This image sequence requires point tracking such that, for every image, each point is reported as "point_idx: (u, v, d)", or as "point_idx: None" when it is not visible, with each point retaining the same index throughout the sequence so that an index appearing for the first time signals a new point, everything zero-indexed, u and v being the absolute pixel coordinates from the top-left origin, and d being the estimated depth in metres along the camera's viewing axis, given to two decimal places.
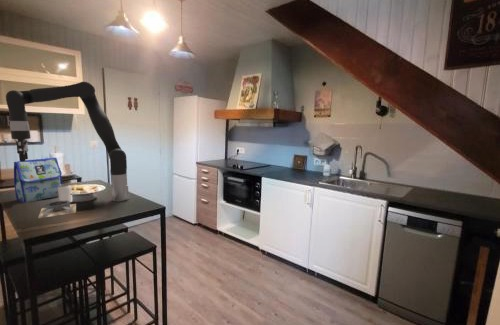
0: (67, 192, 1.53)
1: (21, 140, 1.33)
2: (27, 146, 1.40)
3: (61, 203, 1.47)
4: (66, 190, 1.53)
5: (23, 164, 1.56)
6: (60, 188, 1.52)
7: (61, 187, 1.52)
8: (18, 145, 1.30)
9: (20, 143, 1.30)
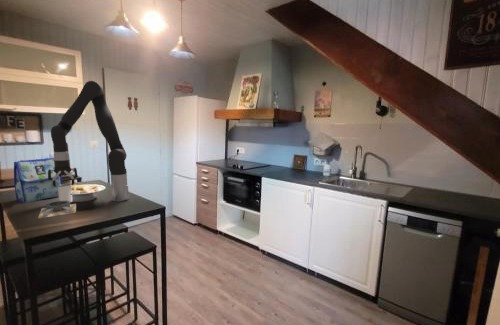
0: (67, 192, 1.53)
1: None
2: None
3: (61, 203, 1.47)
4: (66, 190, 1.53)
5: (23, 164, 1.56)
6: (60, 188, 1.52)
7: (61, 187, 1.52)
8: (76, 171, 1.57)
9: (76, 169, 1.57)
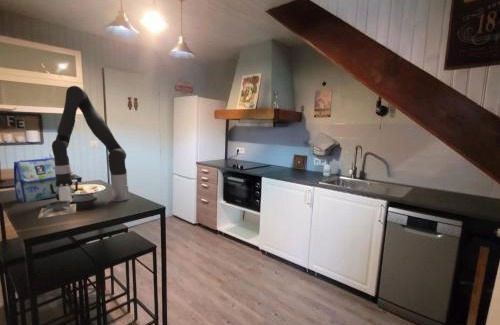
0: (67, 192, 1.53)
1: (71, 180, 1.56)
2: None
3: (61, 203, 1.47)
4: (66, 190, 1.53)
5: (23, 164, 1.56)
6: (60, 188, 1.52)
7: (61, 187, 1.52)
8: (77, 184, 1.58)
9: (77, 182, 1.58)
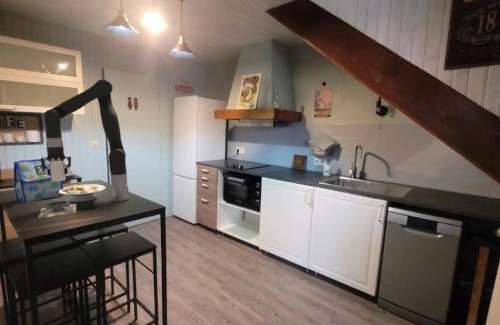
0: (59, 167, 1.43)
1: (64, 155, 1.46)
2: None
3: (61, 203, 1.47)
4: (58, 165, 1.42)
5: (23, 164, 1.56)
6: (52, 163, 1.41)
7: (53, 161, 1.41)
8: (70, 160, 1.47)
9: (70, 158, 1.48)
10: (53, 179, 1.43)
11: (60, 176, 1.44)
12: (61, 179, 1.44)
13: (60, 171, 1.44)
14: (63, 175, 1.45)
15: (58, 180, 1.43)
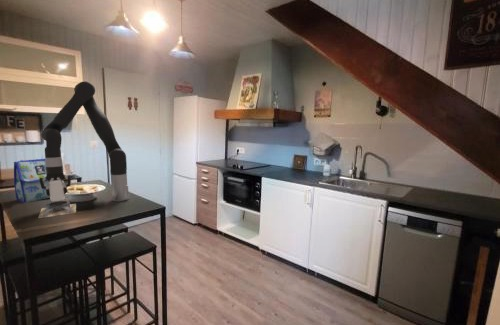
0: (59, 187, 1.40)
1: (63, 174, 1.43)
2: None
3: (61, 203, 1.47)
4: (57, 184, 1.40)
5: (23, 164, 1.56)
6: (51, 182, 1.39)
7: (52, 181, 1.39)
8: None
9: (70, 176, 1.45)
10: (52, 199, 1.40)
11: (59, 196, 1.41)
12: (60, 199, 1.42)
13: (59, 191, 1.41)
14: (62, 194, 1.43)
15: (57, 200, 1.41)
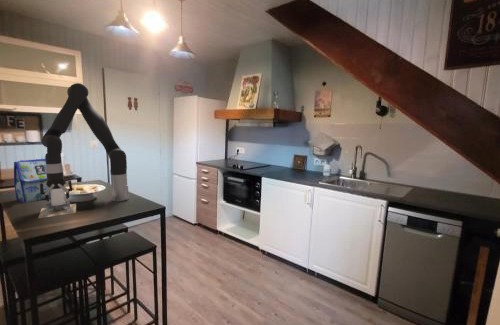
0: (60, 195, 1.41)
1: (64, 180, 1.44)
2: None
3: None
4: (59, 193, 1.40)
5: (23, 164, 1.56)
6: (52, 191, 1.39)
7: (53, 190, 1.39)
8: (71, 183, 1.45)
9: None
10: None
11: (61, 204, 1.42)
12: None
13: (61, 199, 1.42)
14: (64, 203, 1.43)
15: None
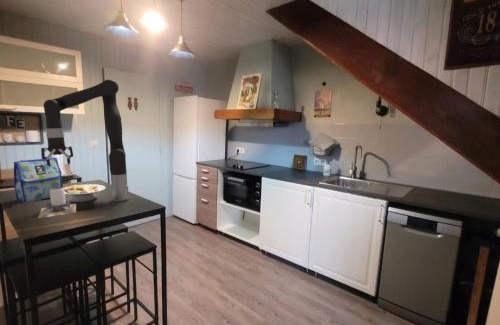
0: (60, 195, 1.41)
1: (64, 145, 1.45)
2: None
3: None
4: (58, 193, 1.40)
5: (23, 164, 1.56)
6: (52, 191, 1.39)
7: (53, 190, 1.39)
8: None
9: (71, 147, 1.47)
10: None
11: (61, 204, 1.42)
12: None
13: (61, 199, 1.41)
14: (64, 203, 1.43)
15: None
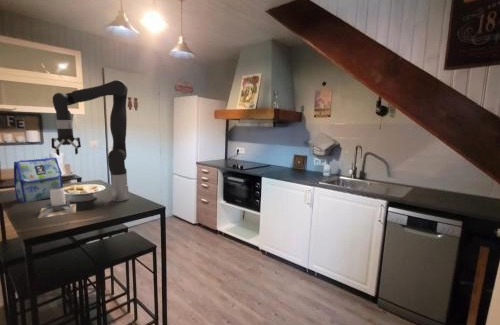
0: (60, 195, 1.41)
1: None
2: None
3: None
4: (58, 193, 1.40)
5: (23, 164, 1.56)
6: (52, 191, 1.39)
7: (53, 190, 1.39)
8: (79, 140, 1.56)
9: (79, 138, 1.57)
10: None
11: (61, 204, 1.42)
12: None
13: (61, 199, 1.41)
14: (64, 203, 1.43)
15: None
